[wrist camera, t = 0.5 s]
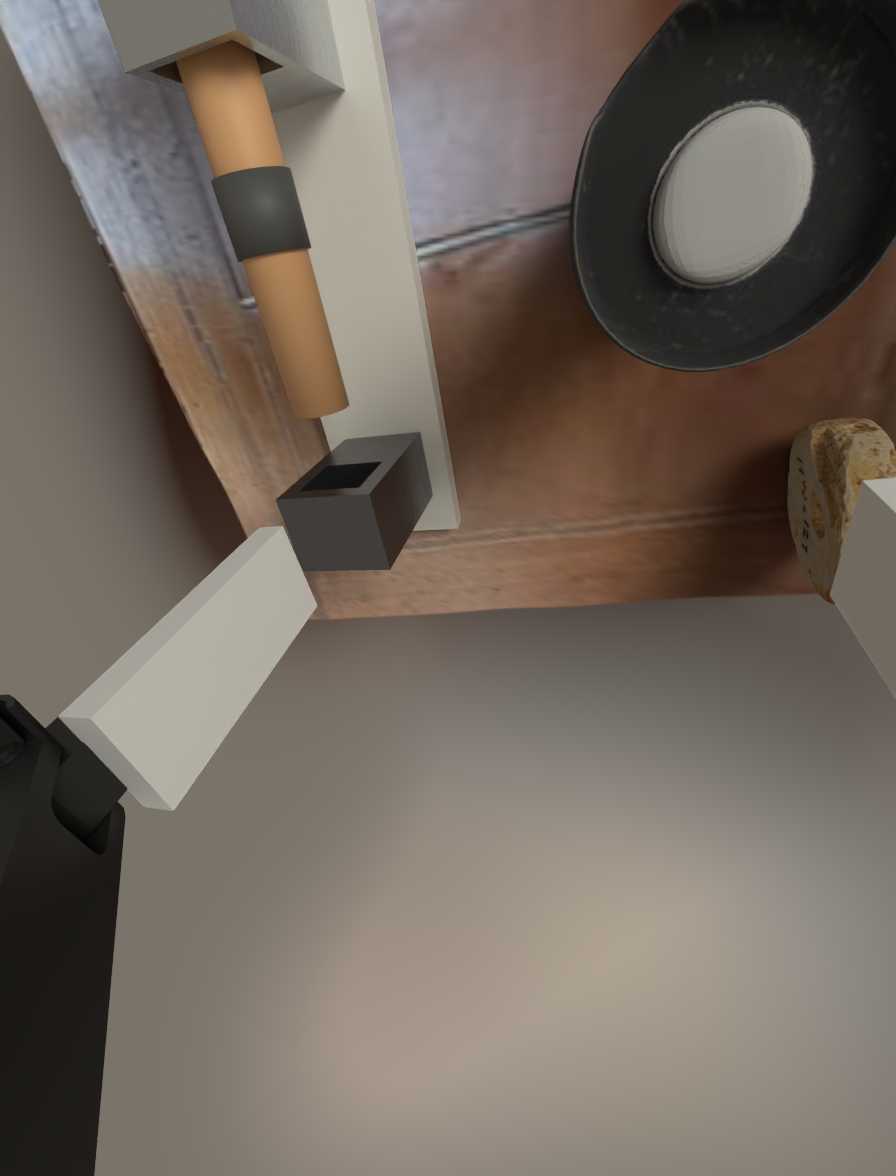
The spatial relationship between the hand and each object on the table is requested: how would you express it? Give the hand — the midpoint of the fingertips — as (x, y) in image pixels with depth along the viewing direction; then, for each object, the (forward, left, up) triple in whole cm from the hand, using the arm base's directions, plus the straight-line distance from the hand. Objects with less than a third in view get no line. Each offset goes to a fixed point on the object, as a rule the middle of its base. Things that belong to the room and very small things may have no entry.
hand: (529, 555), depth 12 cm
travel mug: (-6, +5, -25) cm, 26 cm away
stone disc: (+10, +16, -25) cm, 31 cm away
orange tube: (-11, -13, -18) cm, 25 cm away
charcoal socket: (+6, -13, -24) cm, 28 cm away
